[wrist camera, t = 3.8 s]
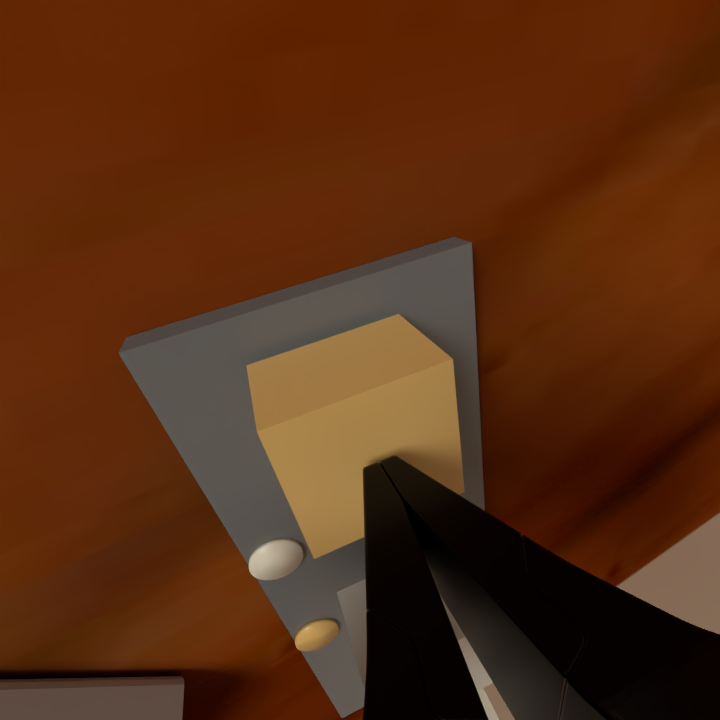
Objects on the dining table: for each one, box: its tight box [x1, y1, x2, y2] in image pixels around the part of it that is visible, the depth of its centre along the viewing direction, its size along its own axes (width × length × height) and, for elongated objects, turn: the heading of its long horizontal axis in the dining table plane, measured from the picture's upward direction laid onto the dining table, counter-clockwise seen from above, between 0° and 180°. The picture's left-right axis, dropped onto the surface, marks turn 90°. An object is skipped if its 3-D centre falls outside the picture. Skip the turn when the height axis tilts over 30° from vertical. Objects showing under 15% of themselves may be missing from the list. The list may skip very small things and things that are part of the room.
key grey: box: [337, 579, 493, 691], centre depth 14 cm, size 4×4×3 cm
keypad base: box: [119, 237, 485, 718], centre depth 17 cm, size 25×10×1 cm, turn 12°
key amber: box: [246, 314, 465, 559], centre depth 11 cm, size 4×4×3 cm
